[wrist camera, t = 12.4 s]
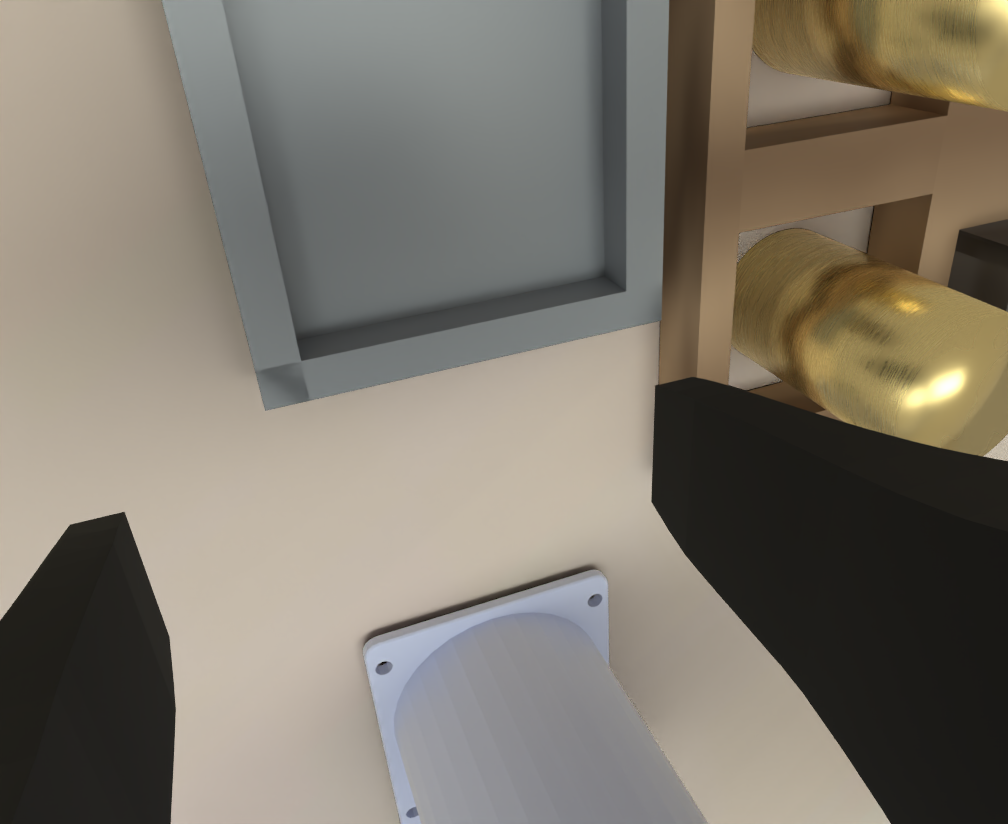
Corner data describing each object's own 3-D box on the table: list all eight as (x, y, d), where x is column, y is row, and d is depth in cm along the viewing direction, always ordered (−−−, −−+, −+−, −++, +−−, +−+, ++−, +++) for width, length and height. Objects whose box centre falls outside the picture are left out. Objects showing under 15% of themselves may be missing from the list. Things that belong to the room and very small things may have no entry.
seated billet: (827, 342, 26) (1018, 450, 20) (717, 370, 25) (885, 493, 19) (844, 217, 24) (1061, 298, 18) (724, 241, 23) (915, 335, 17)
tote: (628, 297, 23) (661, 320, 21) (257, 377, 20) (265, 411, 18) (629, -261, 17) (675, -283, 15) (99, -250, 14) (91, -276, 12)
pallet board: (1004, 371, 29) (1110, 423, 26) (656, 469, 26) (729, 543, 22) (1171, -272, 20) (1365, -316, 17) (674, -261, 17) (798, -317, 14)
